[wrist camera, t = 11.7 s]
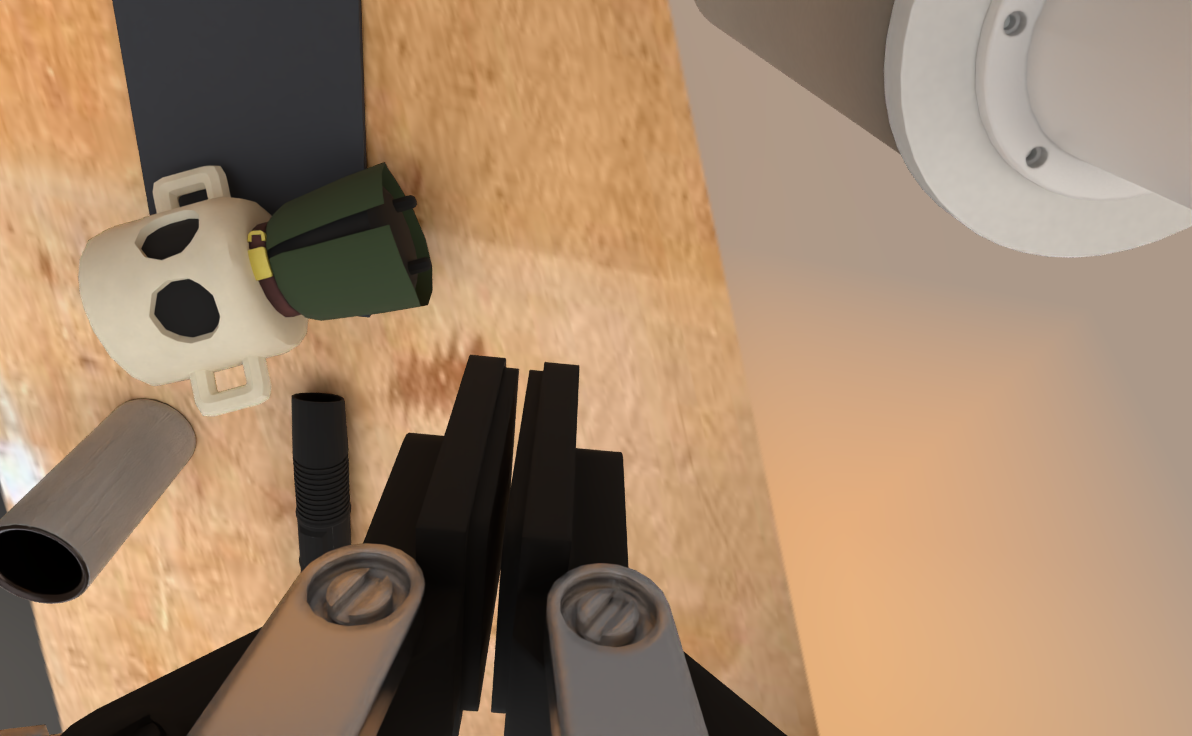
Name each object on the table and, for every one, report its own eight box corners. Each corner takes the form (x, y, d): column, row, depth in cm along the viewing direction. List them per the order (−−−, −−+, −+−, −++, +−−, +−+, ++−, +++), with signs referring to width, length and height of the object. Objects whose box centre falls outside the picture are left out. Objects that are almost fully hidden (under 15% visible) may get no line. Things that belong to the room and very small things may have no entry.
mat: (358, -75, 30) (356, -76, 30) (371, 314, 38) (369, 317, 38) (98, -108, 30) (92, -109, 29) (167, 294, 38) (163, 297, 38)
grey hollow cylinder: (206, 418, 41) (97, 549, 32) (186, 478, 43) (78, 618, 34) (119, 384, 40) (-17, 510, 31) (104, 447, 42) (-30, 583, 33)
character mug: (430, 341, 29) (103, 429, 29) (470, 361, 36) (207, 431, 36) (366, 75, 30) (53, 162, 31) (418, 145, 37) (163, 215, 38)
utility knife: (360, 660, 51) (347, 699, 48) (299, 654, 50) (282, 693, 48) (354, 378, 40) (337, 408, 38) (277, 369, 40) (254, 399, 37)
